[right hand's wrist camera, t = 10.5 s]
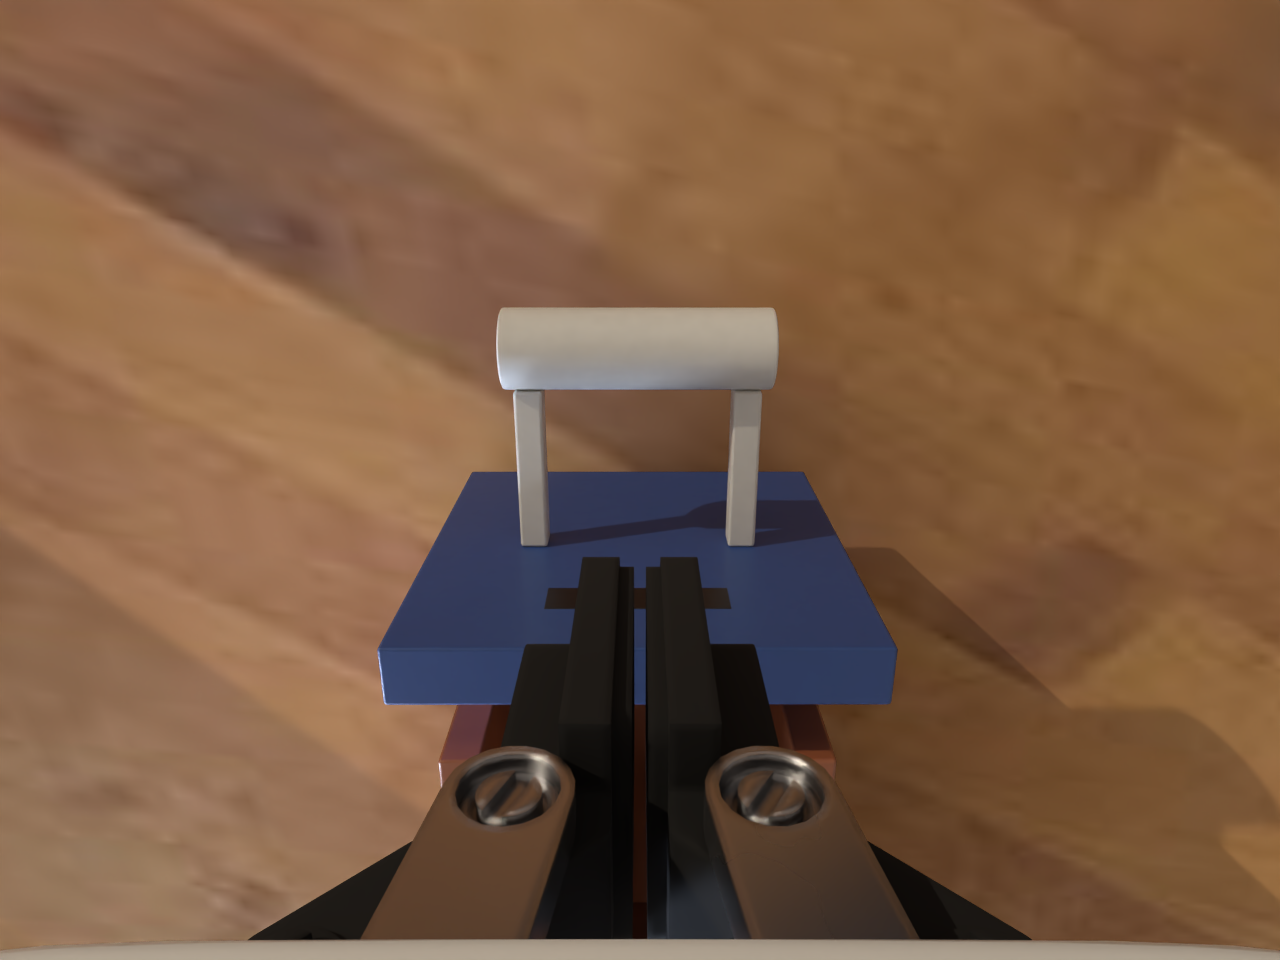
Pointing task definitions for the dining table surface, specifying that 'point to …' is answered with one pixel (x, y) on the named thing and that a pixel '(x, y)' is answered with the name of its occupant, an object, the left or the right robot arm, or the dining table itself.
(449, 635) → the drawer
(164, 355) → the dining table surface
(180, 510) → the dining table surface
